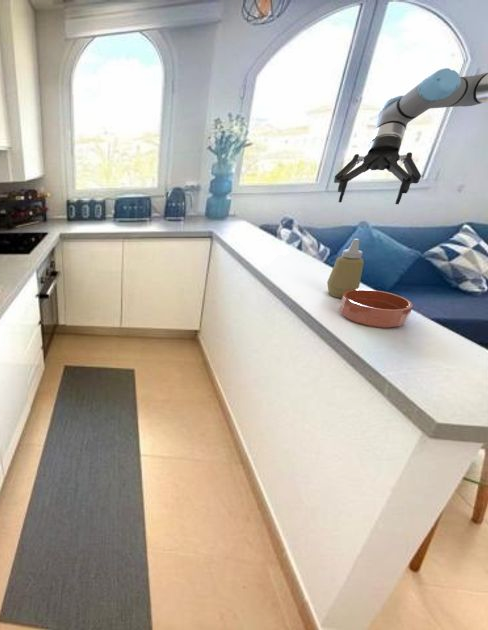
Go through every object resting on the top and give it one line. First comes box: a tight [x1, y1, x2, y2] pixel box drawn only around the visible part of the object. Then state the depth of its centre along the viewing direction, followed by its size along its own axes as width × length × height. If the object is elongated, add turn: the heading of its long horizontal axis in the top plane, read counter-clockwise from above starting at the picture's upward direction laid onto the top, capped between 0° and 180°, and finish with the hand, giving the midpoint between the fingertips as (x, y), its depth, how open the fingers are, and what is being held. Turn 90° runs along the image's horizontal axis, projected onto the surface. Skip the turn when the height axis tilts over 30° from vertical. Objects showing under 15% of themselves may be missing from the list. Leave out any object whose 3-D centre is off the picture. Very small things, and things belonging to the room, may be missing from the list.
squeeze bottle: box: [327, 238, 365, 299], centre depth 105 cm, size 8×8×18 cm
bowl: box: [338, 288, 414, 329], centre depth 94 cm, size 14×14×6 cm
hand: (368, 200), depth 104 cm, fingers open, 13 cm apart
